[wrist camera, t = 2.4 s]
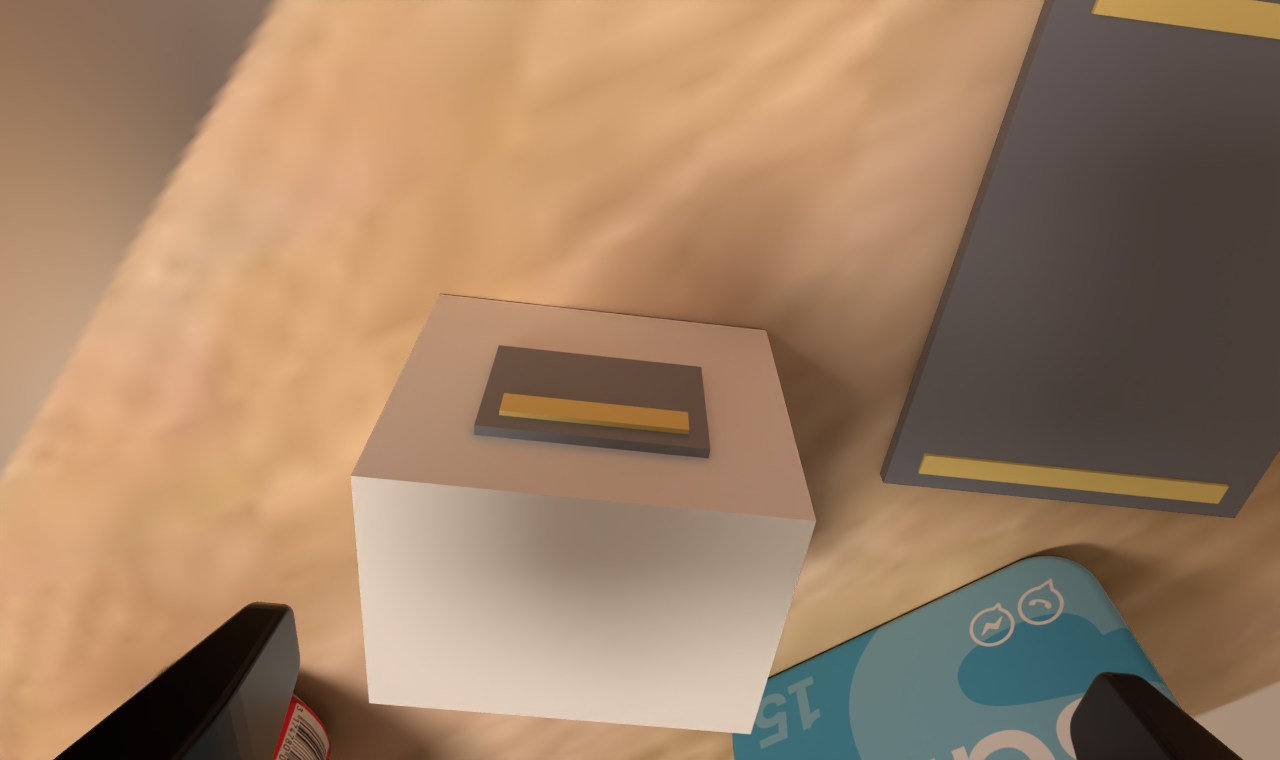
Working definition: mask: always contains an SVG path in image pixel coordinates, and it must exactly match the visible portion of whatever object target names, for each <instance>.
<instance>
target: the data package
mask: <svg viewBox="0 0 1280 760" xmlns="http://www.w3.org/2000/svg"><path fill="white" fill-rule="evenodd" d="M1101 672H1118V673H1130V674H1135V675H1138V676H1140V677H1142V678H1144V679H1145V680H1146V681H1148V682H1149V683H1150V684H1151V685H1153V686H1154V687H1155V688H1156V689H1157V690H1159V691H1160V692H1161V693H1162V694H1164V695H1165V696H1166V697H1167V698H1168V699H1170V700H1171V701H1172V702H1173V703H1175V704H1176V705H1177V706H1178V707H1179V708H1181V707H1180V706H1179V704H1178V702H1177V701H1176V699H1175V698H1174V696H1173V695H1172V693H1171V691H1170V690H1169V688H1168V687H1167V685H1166V684H1165V682H1164V681H1163V679H1162V677H1161V676H1160V674H1159V673H1158V671H1157V670H1156V668H1155V666H1154V665H1153V663H1152V662H1151V660H1150V659H1149V657H1148V656H1147V654H1146V653H1145V651H1144V650H1143V648H1142V646H1141V645H1140V643H1139V642H1138V640H1137V639H1136V637H1135V636H1134V634H1133V633H1132V631H1131V630H1130V628H1129V627H1128V625H1127V624H1126V622H1125V621H1124V619H1123V618H1122V616H1121V614H1120V613H1119V611H1118V610H1117V608H1116V607H1115V605H1114V604H1113V602H1112V601H1111V599H1110V598H1109V596H1108V595H1107V593H1106V592H1105V590H1104V589H1103V587H1102V586H1101V584H1100V582H1099V581H1098V580H1097V578H1096V577H1095V576H1094V575H1093V574H1092V573H1091V572H1090V571H1089V570H1088V569H1086V568H1085V567H1084V566H1082V565H1080V564H1078V563H1076V562H1074V561H1072V560H1069V559H1066V558H1062V557H1056V556H1037V557H1032V558H1027V559H1024V560H1021V561H1019V562H1016V563H1014V564H1012V565H1010V566H1007V567H1005V568H1003V569H1001V570H999V571H997V572H995V573H993V574H990V575H988V576H986V577H984V578H982V579H980V580H978V581H976V582H973V583H971V584H969V585H967V586H965V587H963V588H961V589H959V590H956V591H954V592H952V593H950V594H948V595H946V596H944V597H942V598H939V599H937V600H935V601H933V602H931V603H929V604H927V605H925V606H922V607H920V608H918V609H916V610H914V611H912V612H910V613H908V614H905V615H903V616H901V617H899V618H897V619H895V620H893V621H891V622H888V623H886V624H884V625H882V626H880V627H878V628H876V629H874V630H871V631H869V632H867V633H865V634H863V635H861V636H859V637H857V638H854V639H852V640H850V641H848V642H846V643H844V644H842V645H840V646H837V647H835V648H833V649H831V650H829V651H827V652H825V653H823V654H820V655H818V656H816V657H814V658H812V659H810V660H808V661H806V662H803V663H801V664H799V665H797V666H795V667H793V668H791V669H789V670H786V671H784V672H782V673H780V674H778V675H776V676H774V677H772V678H769V679H768V680H767V683H766V686H765V689H764V692H763V696H762V699H761V702H760V705H759V709H758V712H757V715H756V718H755V721H754V725H753V728H752V731H751V734H741V733H733V749H734V759H735V760H1077V759H1076V755H1075V752H1074V748H1073V745H1072V741H1071V736H1070V722H1071V717H1072V715H1073V713H1074V711H1075V709H1076V708H1077V706H1078V704H1079V703H1080V701H1081V699H1082V697H1083V696H1084V694H1085V692H1086V691H1087V689H1088V687H1089V686H1090V684H1091V682H1092V681H1093V679H1094V678H1095V676H1097V675H1098V674H1100V673H1101Z"/></svg>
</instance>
